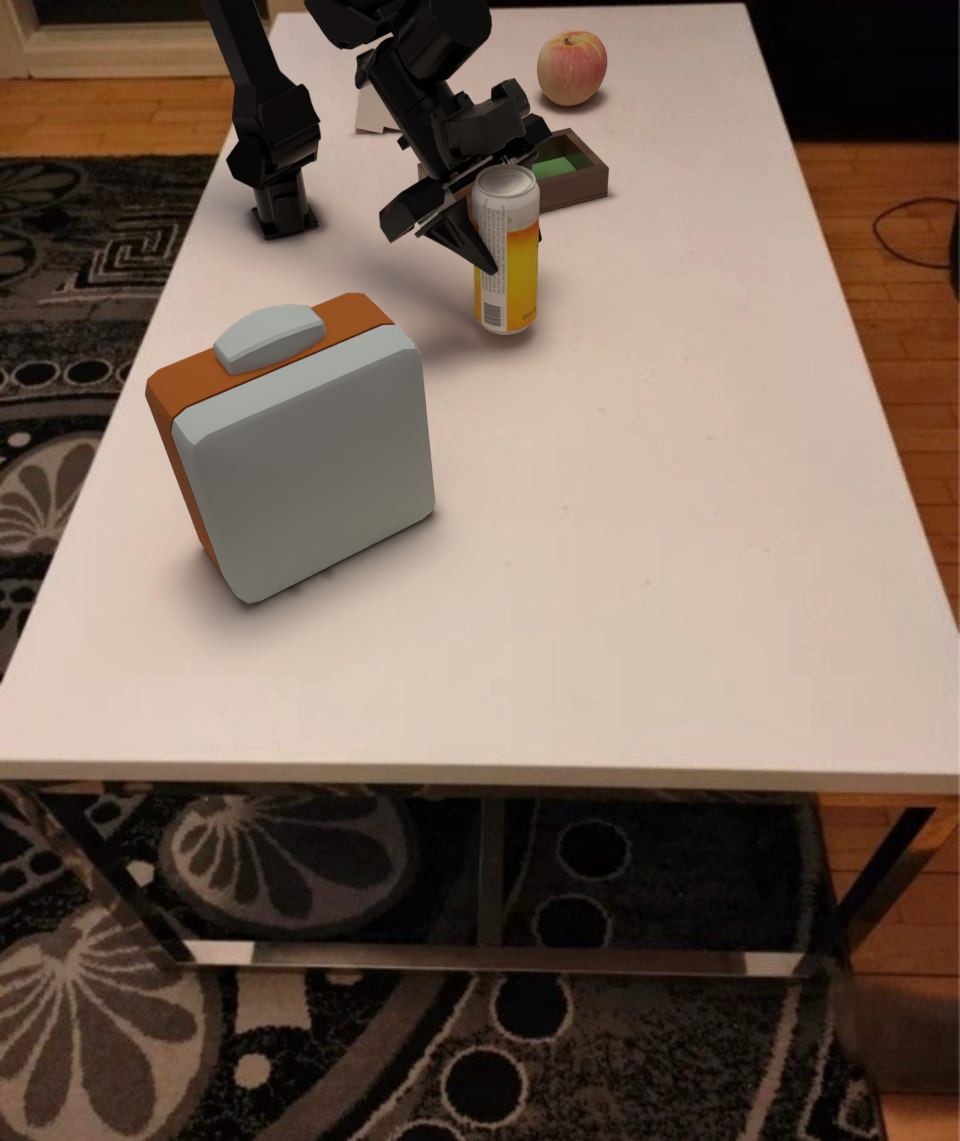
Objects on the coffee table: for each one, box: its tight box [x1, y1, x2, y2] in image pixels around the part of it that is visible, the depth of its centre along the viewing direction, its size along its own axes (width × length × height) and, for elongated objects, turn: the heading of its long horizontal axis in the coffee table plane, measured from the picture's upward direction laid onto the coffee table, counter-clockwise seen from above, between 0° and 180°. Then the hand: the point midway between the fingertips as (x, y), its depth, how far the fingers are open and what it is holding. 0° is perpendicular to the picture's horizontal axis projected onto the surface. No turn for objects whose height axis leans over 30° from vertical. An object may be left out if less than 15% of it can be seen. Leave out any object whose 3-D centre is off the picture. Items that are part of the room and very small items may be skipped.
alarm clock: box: [144, 292, 436, 604], centre depth 78 cm, size 18×9×21 cm, turn 124°
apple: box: [536, 29, 608, 107], centre depth 130 cm, size 9×9×8 cm
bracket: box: [354, 84, 400, 134], centre depth 130 cm, size 13×7×8 cm, turn 1°
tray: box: [416, 127, 610, 224], centre depth 117 cm, size 10×20×4 cm, turn 112°
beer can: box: [472, 164, 540, 336], centre depth 95 cm, size 6×6×15 cm
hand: (516, 258), depth 94 cm, fingers closed on beer can, 6 cm apart
